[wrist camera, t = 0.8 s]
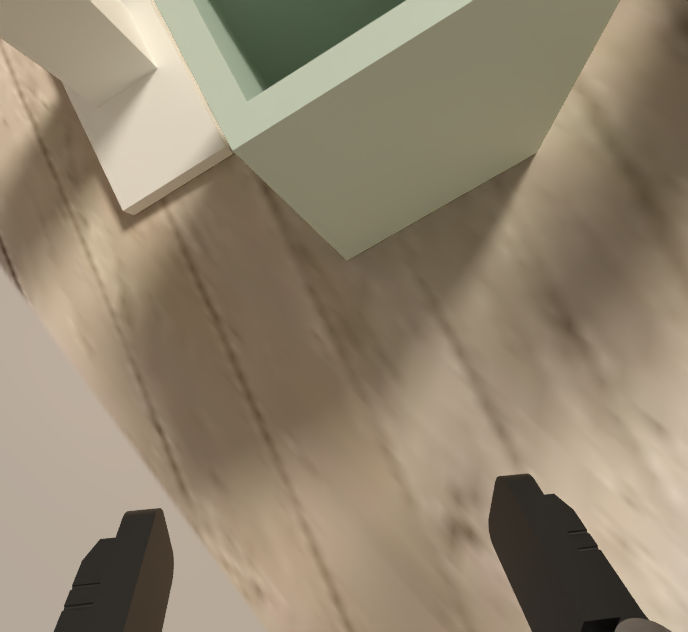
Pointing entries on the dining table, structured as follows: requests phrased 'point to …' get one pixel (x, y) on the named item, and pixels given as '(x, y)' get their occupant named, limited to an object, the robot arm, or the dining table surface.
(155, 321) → the dining table surface
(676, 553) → the dining table surface
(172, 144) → the shelf stand
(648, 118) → the dining table surface
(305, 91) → the tote
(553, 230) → the dining table surface
